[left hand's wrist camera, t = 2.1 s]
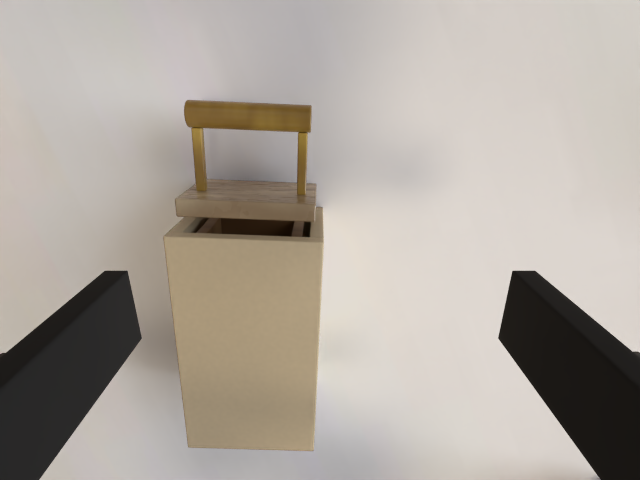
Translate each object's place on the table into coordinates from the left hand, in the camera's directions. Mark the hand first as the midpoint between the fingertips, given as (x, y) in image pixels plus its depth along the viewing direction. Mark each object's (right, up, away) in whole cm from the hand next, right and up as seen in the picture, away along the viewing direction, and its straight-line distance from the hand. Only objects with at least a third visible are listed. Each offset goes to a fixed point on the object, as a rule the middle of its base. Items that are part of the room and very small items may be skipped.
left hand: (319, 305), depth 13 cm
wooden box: (-5, -3, +21) cm, 22 cm away
